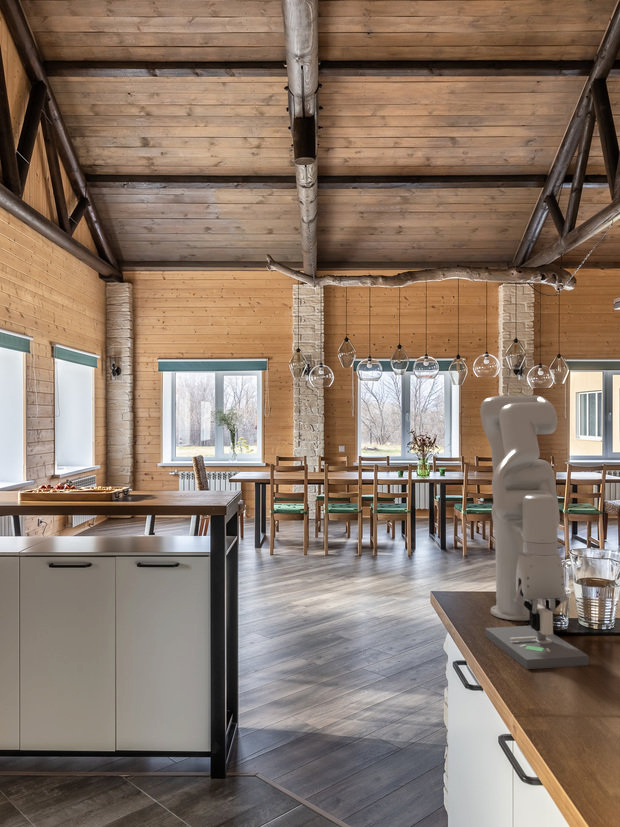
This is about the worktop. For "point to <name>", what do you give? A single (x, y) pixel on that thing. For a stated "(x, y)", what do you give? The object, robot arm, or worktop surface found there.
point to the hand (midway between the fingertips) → (541, 628)
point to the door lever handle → (541, 625)
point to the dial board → (536, 648)
